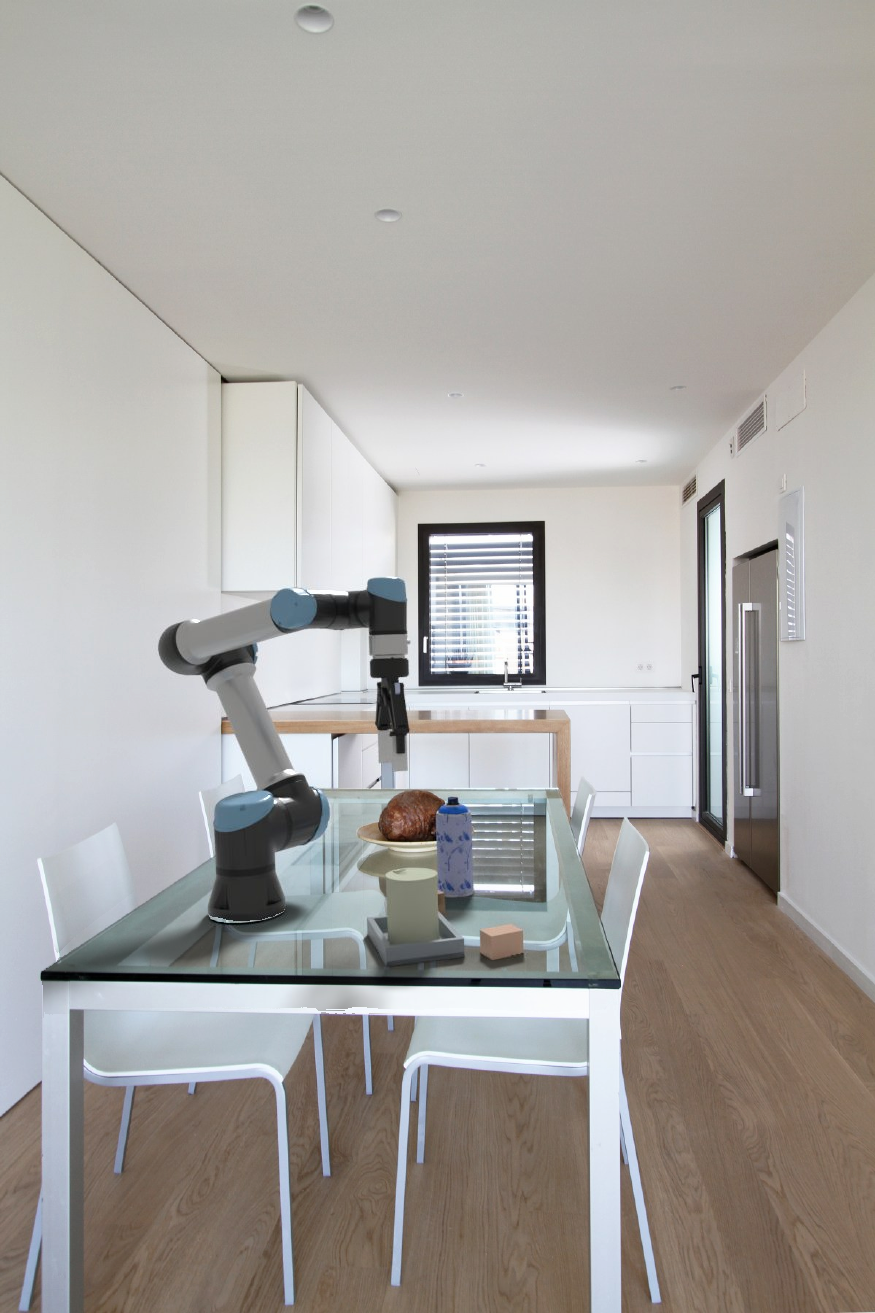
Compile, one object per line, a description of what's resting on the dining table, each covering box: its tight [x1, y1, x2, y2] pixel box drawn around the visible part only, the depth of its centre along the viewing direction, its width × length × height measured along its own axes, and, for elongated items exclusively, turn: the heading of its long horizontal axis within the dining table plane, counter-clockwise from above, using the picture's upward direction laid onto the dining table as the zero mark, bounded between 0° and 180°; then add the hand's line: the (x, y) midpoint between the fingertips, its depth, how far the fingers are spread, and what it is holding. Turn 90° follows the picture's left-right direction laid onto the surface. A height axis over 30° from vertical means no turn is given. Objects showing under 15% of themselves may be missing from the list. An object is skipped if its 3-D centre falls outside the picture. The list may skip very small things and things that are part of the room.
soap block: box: [479, 923, 525, 961], centre depth 143 cm, size 6×4×4 cm, turn 116°
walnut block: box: [438, 890, 447, 920], centre depth 164 cm, size 5×5×5 cm
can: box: [384, 867, 440, 945], centre depth 148 cm, size 9×9×12 cm
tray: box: [366, 911, 466, 968], centre depth 148 cm, size 17×13×3 cm
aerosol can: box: [435, 796, 476, 898], centre depth 181 cm, size 8×8×20 cm
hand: (392, 766), depth 166 cm, fingers open, 13 cm apart
